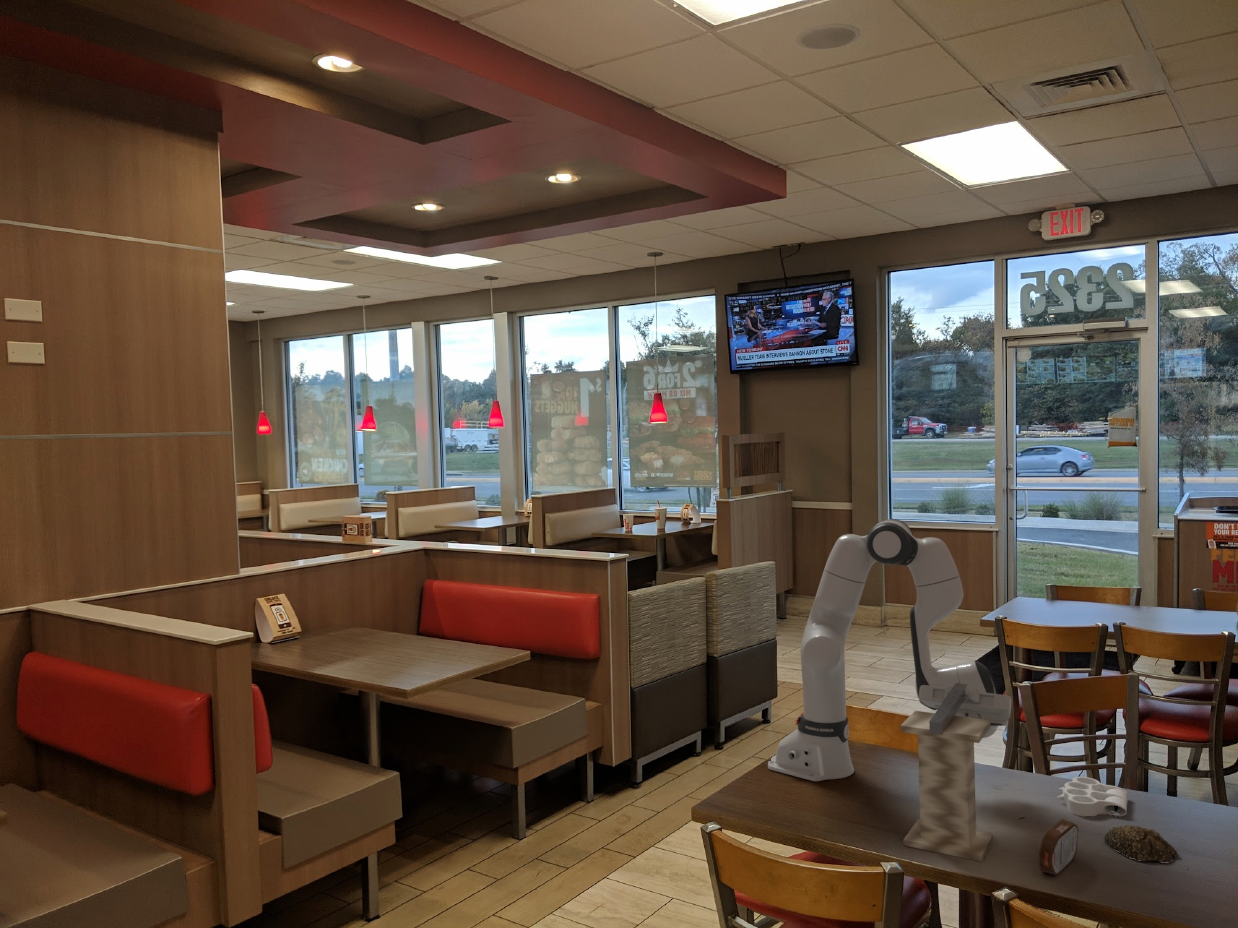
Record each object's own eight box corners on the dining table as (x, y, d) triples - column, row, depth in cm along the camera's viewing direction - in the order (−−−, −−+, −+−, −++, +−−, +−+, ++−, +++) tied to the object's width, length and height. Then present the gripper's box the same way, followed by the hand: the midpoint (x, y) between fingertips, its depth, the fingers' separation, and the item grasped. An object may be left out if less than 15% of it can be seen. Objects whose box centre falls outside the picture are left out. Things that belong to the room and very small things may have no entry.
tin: (1065, 852, 191) (1064, 812, 191) (1081, 856, 189) (1080, 816, 189) (1037, 877, 181) (1036, 835, 181) (1053, 883, 179) (1053, 840, 178)
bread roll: (1097, 838, 198) (1097, 815, 198) (1155, 837, 197) (1155, 814, 197) (1128, 865, 185) (1128, 841, 185) (1190, 864, 185) (1190, 840, 185)
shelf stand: (903, 844, 197) (900, 725, 196) (918, 824, 207) (915, 710, 206) (981, 861, 188) (978, 736, 188) (993, 838, 198) (990, 720, 198)
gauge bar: (942, 734, 190) (941, 723, 190) (929, 732, 191) (929, 721, 191) (967, 694, 210) (967, 684, 210) (956, 693, 211) (955, 682, 211)
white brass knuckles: (1126, 824, 204) (1053, 813, 212) (1128, 796, 220) (1060, 786, 227) (1125, 809, 204) (1053, 798, 212) (1127, 782, 220) (1060, 773, 227)
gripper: (927, 688, 225) (913, 672, 215) (1016, 700, 214) (1006, 683, 203) (924, 714, 222) (910, 698, 212) (1014, 726, 211) (1004, 711, 201)
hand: (958, 691), depth 208 cm, fingers closed on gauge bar, 2 cm apart
